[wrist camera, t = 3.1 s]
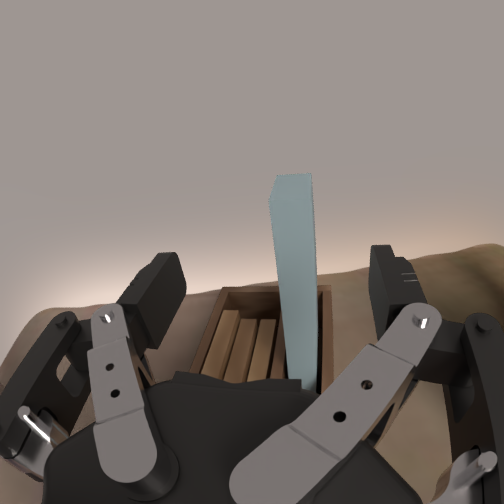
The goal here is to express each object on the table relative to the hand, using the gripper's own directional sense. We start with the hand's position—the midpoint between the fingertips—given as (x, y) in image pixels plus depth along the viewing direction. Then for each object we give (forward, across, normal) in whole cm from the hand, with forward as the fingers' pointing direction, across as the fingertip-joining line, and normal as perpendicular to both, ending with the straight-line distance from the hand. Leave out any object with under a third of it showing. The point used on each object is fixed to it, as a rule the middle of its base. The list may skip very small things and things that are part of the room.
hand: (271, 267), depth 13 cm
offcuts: (+13, +7, +27) cm, 31 cm away
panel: (+13, 0, +27) cm, 30 cm away
